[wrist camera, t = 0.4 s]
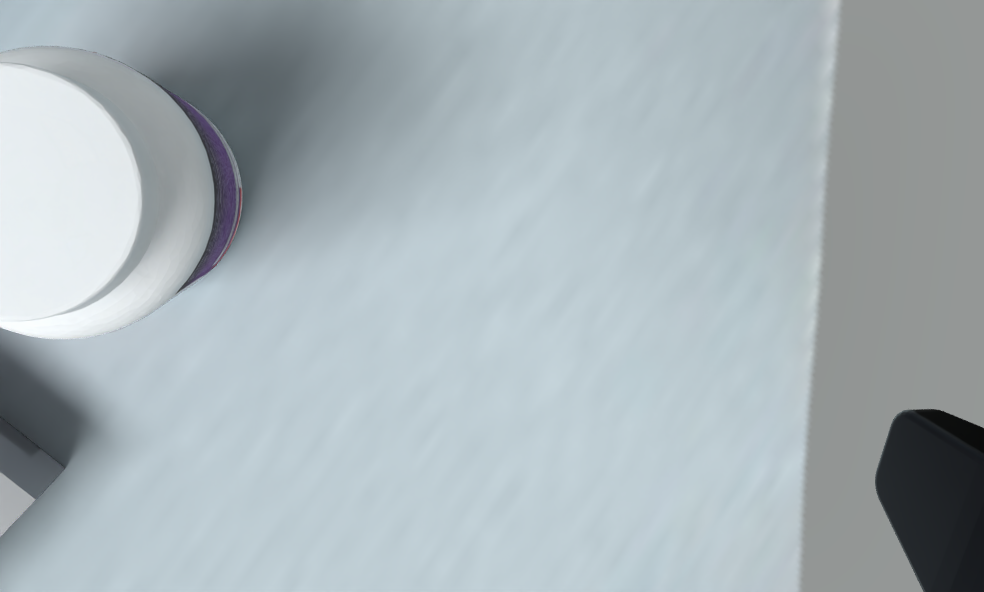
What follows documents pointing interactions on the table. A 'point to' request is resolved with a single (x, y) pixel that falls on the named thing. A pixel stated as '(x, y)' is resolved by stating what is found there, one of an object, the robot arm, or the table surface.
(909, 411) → the robot arm
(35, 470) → the tray
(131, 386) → the table surface
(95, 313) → the pill bottle
